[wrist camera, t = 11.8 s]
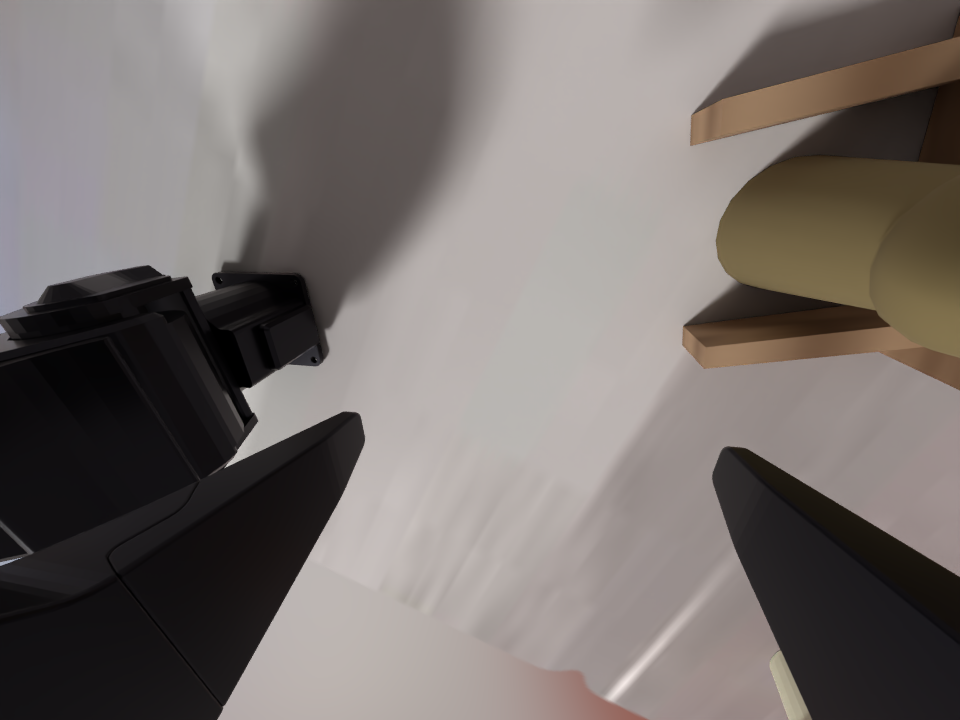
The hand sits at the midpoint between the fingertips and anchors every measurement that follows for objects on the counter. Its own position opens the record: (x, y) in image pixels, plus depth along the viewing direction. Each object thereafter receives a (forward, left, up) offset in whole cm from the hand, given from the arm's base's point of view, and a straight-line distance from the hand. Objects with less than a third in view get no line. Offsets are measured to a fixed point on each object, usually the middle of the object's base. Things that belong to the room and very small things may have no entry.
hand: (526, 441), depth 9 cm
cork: (+12, +4, -13) cm, 18 cm away
